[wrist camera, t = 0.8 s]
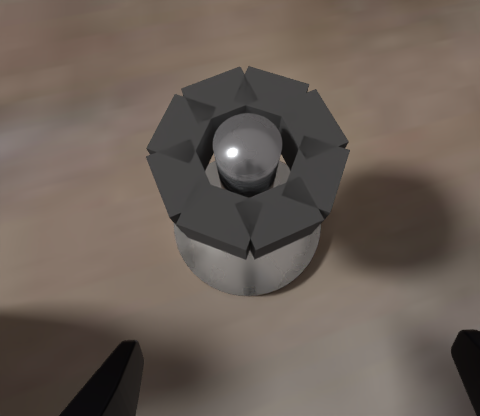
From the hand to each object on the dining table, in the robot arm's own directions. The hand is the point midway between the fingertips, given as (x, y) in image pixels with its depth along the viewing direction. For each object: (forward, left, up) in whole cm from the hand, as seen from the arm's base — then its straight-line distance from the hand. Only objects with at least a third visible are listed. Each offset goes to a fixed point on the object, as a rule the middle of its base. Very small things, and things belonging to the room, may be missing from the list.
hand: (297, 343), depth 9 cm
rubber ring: (+6, +4, -5) cm, 9 cm away
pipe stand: (+6, +4, -14) cm, 16 cm away
